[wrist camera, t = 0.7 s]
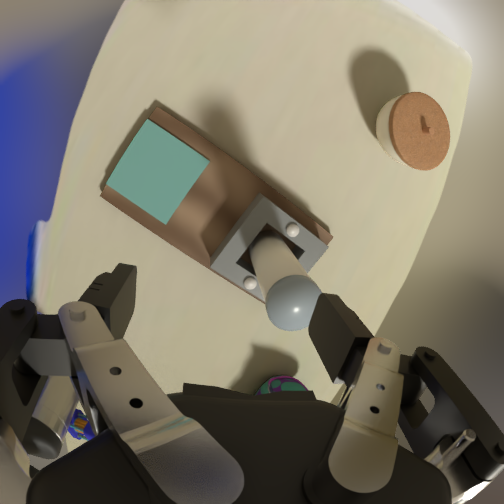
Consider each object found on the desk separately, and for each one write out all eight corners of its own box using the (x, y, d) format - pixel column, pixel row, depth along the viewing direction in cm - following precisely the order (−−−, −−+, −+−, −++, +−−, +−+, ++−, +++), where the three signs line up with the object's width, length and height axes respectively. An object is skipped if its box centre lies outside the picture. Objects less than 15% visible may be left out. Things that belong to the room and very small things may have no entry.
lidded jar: (355, 101, 36) (390, 93, 27) (410, 94, 36) (448, 89, 27) (372, 171, 40) (409, 179, 31) (424, 158, 40) (463, 164, 31)
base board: (272, 305, 45) (273, 309, 44) (102, 194, 36) (99, 195, 35) (330, 234, 42) (333, 236, 41) (158, 107, 33) (157, 106, 32)
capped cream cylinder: (269, 272, 42) (298, 339, 27) (239, 252, 40) (255, 314, 25) (292, 243, 41) (335, 298, 26) (263, 222, 39) (293, 269, 24)
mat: (166, 224, 38) (165, 224, 37) (106, 183, 35) (105, 183, 34) (210, 161, 36) (210, 161, 35) (147, 119, 33) (147, 118, 32)
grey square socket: (272, 297, 43) (277, 310, 40) (210, 257, 40) (209, 268, 36) (320, 239, 41) (329, 247, 37) (259, 192, 38) (264, 196, 34)
